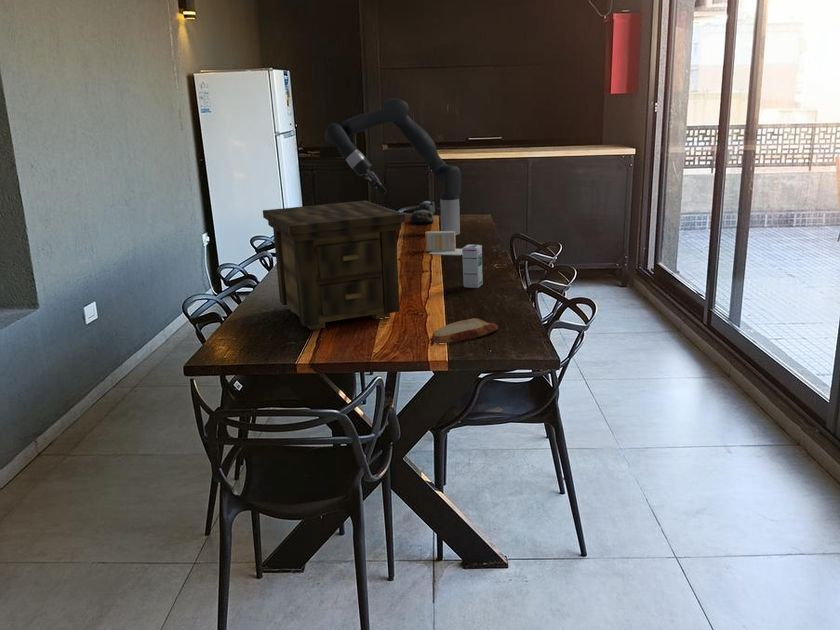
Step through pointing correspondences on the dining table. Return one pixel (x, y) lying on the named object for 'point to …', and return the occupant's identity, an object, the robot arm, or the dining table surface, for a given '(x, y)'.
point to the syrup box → (472, 266)
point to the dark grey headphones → (424, 212)
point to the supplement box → (440, 241)
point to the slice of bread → (463, 330)
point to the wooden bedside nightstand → (337, 260)
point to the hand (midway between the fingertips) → (384, 193)
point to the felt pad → (447, 252)
